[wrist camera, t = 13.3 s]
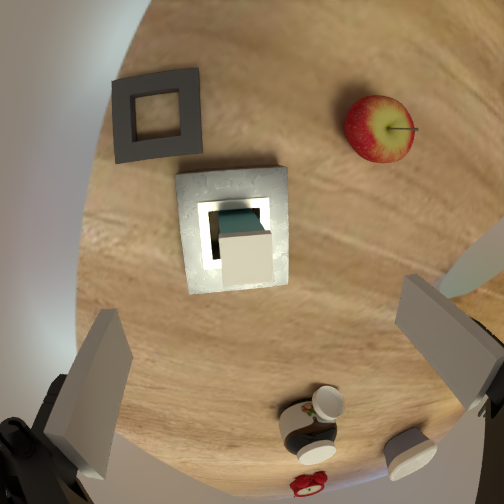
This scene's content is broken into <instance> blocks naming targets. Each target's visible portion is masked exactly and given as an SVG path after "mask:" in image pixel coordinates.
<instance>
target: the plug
mask: <svg viewBox="0 0 504 504" xmlns="http://www.w3.org/2000/svg"><path fill="white" fill-rule="evenodd" d="M218 222H219V234H218V235H219V247H220V258H221V270H222V280H223V287H224V286H235V285H245V284H255V283H264V282H273V249H272V233H271V231H270V230H265V228H264V227H263V225H262V224H261V222H260V221H259V219H258V218H257V216H256V215H255V213H254V212H253V210H252V209H251V208H243V209H230V210H218Z"/></svg>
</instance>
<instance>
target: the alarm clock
mask: <svg viewBox="0 0 504 504" xmlns="http://www.w3.org/2000/svg"><path fill="white" fill-rule="evenodd" d="M326 481H327V475H326V474H325V473H323V472H318V473H316V474H314V475H310V476H305V475H303V476H299V477H297V478H296V480H295V481H294V482H292V483H291V484H290V488H291V489H292V490H293V491H294V495H295V496H297V497H304V496H309V495H313V494H316V493H318V492H320V491H321V490H323V489H324V484H323V483H325V482H326ZM295 496H294V497H295Z"/></svg>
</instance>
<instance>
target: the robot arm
mask: <svg viewBox="0 0 504 504" xmlns="http://www.w3.org/2000/svg"><path fill="white" fill-rule="evenodd" d="M395 324H396V325H397V326H398V327H399V328H400V330H401V331H402V332H403V333H404V334H405V335H406V336H407V338H408V339H409V340H410V341H411V342H412V343H413V345H414V346H415V347H416V348H417V349H418V350H419V352H420V353H421V354H422V355H423V356H424V358H425V359H426V360H427V361H428V362H429V364H430V365H431V366H432V367H433V369H434V370H435V371H436V372H437V373H438V375H439V376H440V377H441V378H442V380H443V381H444V382H445V383H446V385H447V386H448V387H449V388H450V390H451V391H452V392H453V393H454V395H455V396H456V397H457V399H458V400H459V401H460V402H461V404H462V405H463V406H464V408H465V409H466V410H467V411H468V410H470V409H471V408H473V407H475V406H476V405H478V404H479V403H480V401H481V400H482V398H483V397H484V395H485V393H486V394H487V396H488V397H489V398H488V399H487V401H486V403H485V404H484V405H483V407H482V409H481V410H480V411H479V413H478V416H479V417H480V416H481V414H482V413H483V411H484V410H486V412H485V414H484V415H483V417H485V439H484V451H483V460H482V468H481V475H480V481H479V487H478V493H477V497H476V502H475V504H504V344H503V343H502V342H501V341H500V340H499V339H498V338H497V337H496V336H495V335H492V333H491V332H490V331H489V330H488V329H487V330H486V327H485V326H483V325H482V324H481V323H480V322H479V321H477V320H475V319H473V318H471V317H469V316H468V315H466V314H465V313H464V312H463V311H462V310H461V309H459V308H458V307H457V306H456V305H455V304H453V303H452V302H451V301H450V300H449V299H447V298H446V297H445V296H444V295H443V294H441V293H440V292H439V291H438V290H436V289H435V288H434V287H433V286H431V285H430V284H429V283H428V282H426V281H425V280H424V279H423V278H421V277H420V276H419V275H417V274H411V275H405V276H404V281H403V287H402V292H401V297H400V301H399V306H398V311H397V315H396V319H395ZM132 360H133V355H132V353H131V350H130V347H129V344H128V342H127V339H126V336H125V333H124V330H123V327H122V324H121V321H120V318H119V315H118V312H117V309H101V310H100V312H99V314H98V316H97V318H96V319H95V321H94V323H93V325H92V327H91V329H90V331H89V333H88V335H87V336H86V338H85V340H84V342H83V344H82V346H81V348H80V350H79V352H78V354H77V356H76V358H75V360H74V362H73V364H72V367H71V369H70V371H69V373H68V375H66V374H60V375H59V376H58V377H57V378H56V379H55V380H54V381H53V382H52V383H51V385H50V387H49V390H48V392H47V395H46V396H45V398H44V400H43V402H44V403H43V404H42V405H41V407H40V409H39V412H38V414H37V416H36V418H35V421H34V423H33V426H32V428H31V429H30V428H29V427H28V426H27V425H26V423H25V422H24V421H23V420H21V419H20V418H17V417H11V418H7V419H6V420H4V421H3V422H1V424H0V445H1V446H0V504H94V503H93V501H92V500H91V498H90V497H89V495H88V493H87V492H86V490H85V489H84V487H83V485H82V484H81V482H80V480H79V479H78V478H77V477H76V475H77V471H78V470H80V472H82V473H83V474H84V475H85V476H86V477H91V478H97V479H103V480H105V477H106V471H107V466H108V460H109V455H110V450H111V445H112V440H113V436H114V431H115V426H116V422H117V418H118V413H119V409H120V405H121V401H122V397H123V393H124V389H125V385H126V382H127V378H128V374H129V370H130V367H131V363H132ZM6 493H7V495H6Z"/></svg>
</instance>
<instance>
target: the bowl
mask: <svg viewBox="0 0 504 504" xmlns="http://www.w3.org/2000/svg"><path fill="white" fill-rule="evenodd" d="M436 451H437V445H436V444H435V443H434V442H433V441H431V440H430V439H429V438H428V437H426V436H425V435H424V434H423V433H422V432H420V431H419V430H418V429H417V428H412V429H410V430H408V431H405V432H403V433H401V434H399V435H397V436H396V437H394V438H392V439H391V440H390V441H389V442H388V443H387V445H386V446H385V448H384V454H385V458H386V463H387V467H388V473H389V478H390V479H391V480H392V481H395V480H398V479H400V478H402V477H405V476H407V475H409V474H411V473H412V472H414V471H416V470H418V469H419V468H421V467H423V466H424V465H426V464H427V463H428V462H429V461H430V460H431V458H432V457H433V456H434V455H435V453H436Z"/></svg>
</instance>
